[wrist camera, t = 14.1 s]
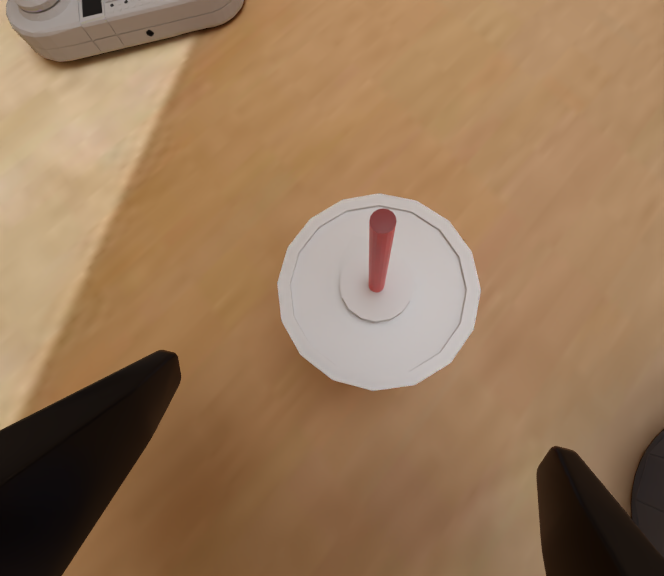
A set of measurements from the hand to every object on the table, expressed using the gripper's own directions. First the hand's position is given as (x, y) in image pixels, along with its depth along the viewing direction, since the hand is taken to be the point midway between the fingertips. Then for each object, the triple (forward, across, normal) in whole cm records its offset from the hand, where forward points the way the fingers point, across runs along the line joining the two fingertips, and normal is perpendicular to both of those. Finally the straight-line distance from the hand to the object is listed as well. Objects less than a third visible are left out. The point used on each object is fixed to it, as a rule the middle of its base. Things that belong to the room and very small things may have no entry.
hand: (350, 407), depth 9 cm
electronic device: (+23, +20, -7) cm, 31 cm away
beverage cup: (+10, 0, +5) cm, 12 cm away
